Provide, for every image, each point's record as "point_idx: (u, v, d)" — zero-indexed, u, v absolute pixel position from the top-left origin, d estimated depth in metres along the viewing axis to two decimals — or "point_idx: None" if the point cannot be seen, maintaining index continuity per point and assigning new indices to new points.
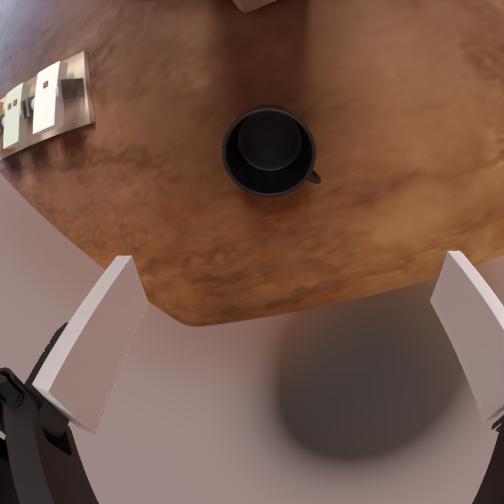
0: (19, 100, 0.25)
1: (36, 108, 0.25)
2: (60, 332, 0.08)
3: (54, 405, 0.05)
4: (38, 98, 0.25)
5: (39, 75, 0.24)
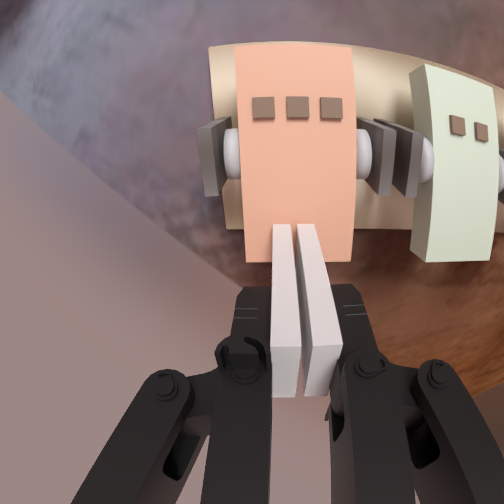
0: (493, 137, 0.09)
1: None
2: (244, 296, 0.09)
3: (275, 370, 0.07)
4: None
5: None
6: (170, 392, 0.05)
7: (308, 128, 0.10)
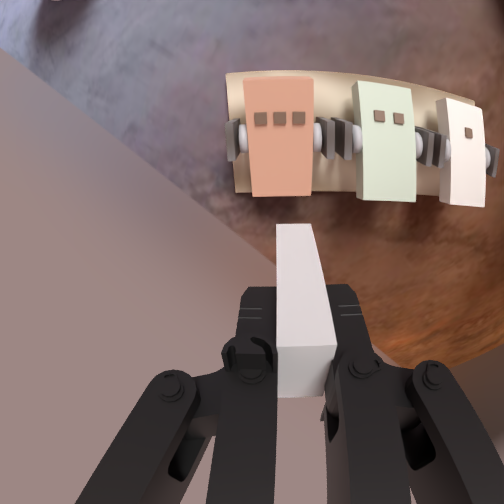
0: (410, 121, 0.18)
1: (455, 163, 0.19)
2: (249, 296, 0.09)
3: (281, 370, 0.07)
4: (458, 147, 0.18)
5: (450, 104, 0.17)
6: (176, 393, 0.05)
7: (285, 128, 0.19)
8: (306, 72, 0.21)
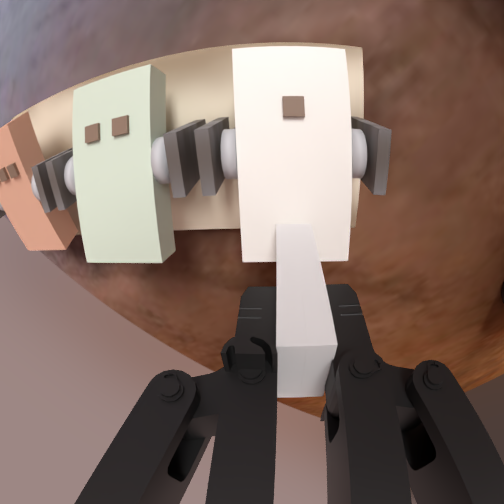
0: (142, 122, 0.11)
1: (252, 179, 0.12)
2: (248, 296, 0.09)
3: (280, 370, 0.07)
4: (259, 145, 0.11)
5: (242, 58, 0.10)
6: (176, 393, 0.05)
7: (12, 183, 0.12)
8: (65, 92, 0.14)
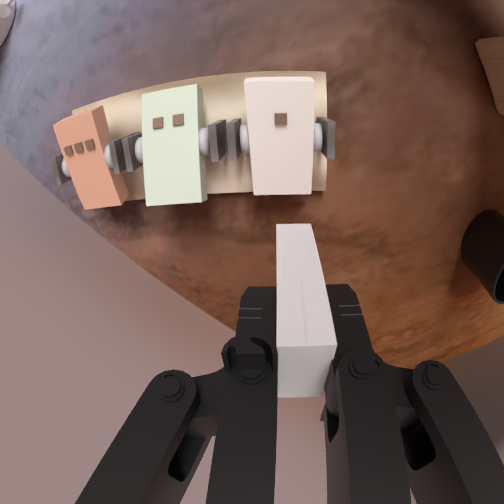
0: (192, 118, 0.20)
1: (258, 156, 0.21)
2: (249, 296, 0.09)
3: (281, 370, 0.07)
4: (261, 139, 0.20)
5: (250, 89, 0.17)
6: (176, 393, 0.05)
7: (85, 154, 0.21)
8: (123, 95, 0.22)
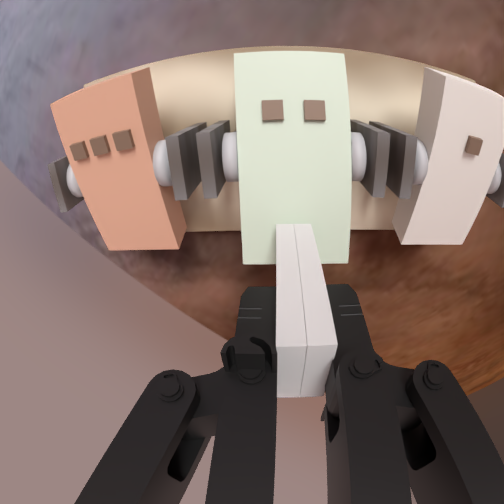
0: (340, 113, 0.10)
1: (429, 192, 0.12)
2: (248, 296, 0.09)
3: (280, 370, 0.07)
4: (442, 169, 0.11)
5: (451, 90, 0.08)
6: (176, 393, 0.05)
7: (112, 159, 0.12)
8: (179, 59, 0.13)
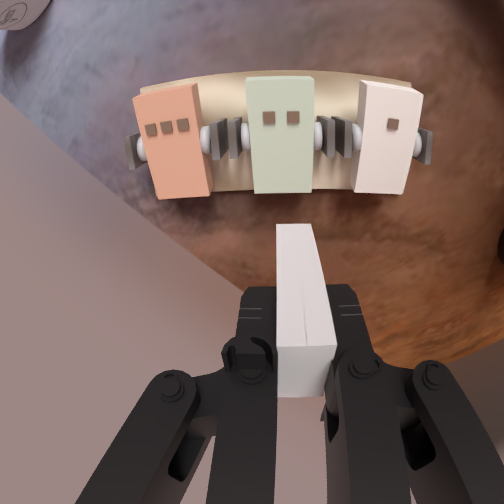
0: (308, 117, 0.19)
1: (367, 155, 0.21)
2: (249, 296, 0.09)
3: (281, 370, 0.07)
4: (373, 140, 0.19)
5: (372, 92, 0.16)
6: (176, 393, 0.05)
7: (173, 135, 0.20)
8: (209, 77, 0.22)
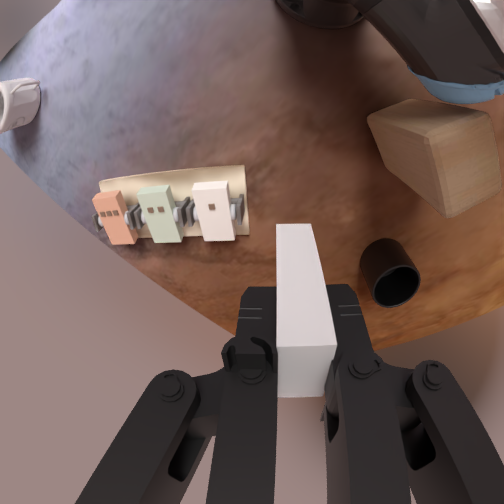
0: (168, 208, 0.40)
1: (203, 223, 0.42)
2: (249, 296, 0.09)
3: (281, 370, 0.07)
4: (204, 215, 0.41)
5: (195, 193, 0.38)
6: (176, 393, 0.05)
7: (113, 217, 0.42)
8: (131, 178, 0.43)
